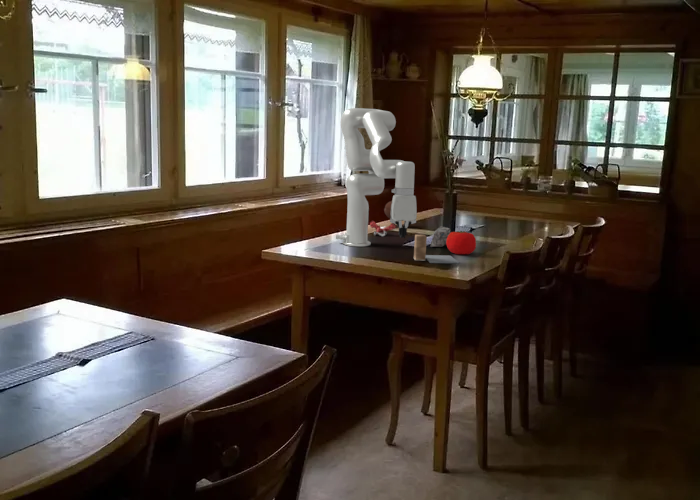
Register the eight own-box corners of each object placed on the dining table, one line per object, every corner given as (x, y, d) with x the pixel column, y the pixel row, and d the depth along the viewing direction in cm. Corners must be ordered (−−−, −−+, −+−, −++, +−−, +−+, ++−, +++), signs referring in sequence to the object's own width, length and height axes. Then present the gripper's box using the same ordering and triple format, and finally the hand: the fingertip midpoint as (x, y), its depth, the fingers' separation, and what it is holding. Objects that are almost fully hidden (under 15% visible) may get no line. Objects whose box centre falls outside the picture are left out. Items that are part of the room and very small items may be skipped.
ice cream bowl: (407, 227, 384) (409, 198, 381) (397, 229, 375) (398, 200, 372) (389, 225, 389) (391, 196, 386) (379, 227, 380) (380, 198, 377)
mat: (430, 263, 297) (430, 262, 297) (422, 255, 311) (422, 255, 311) (459, 263, 299) (459, 262, 299) (450, 256, 312) (450, 255, 312)
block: (415, 260, 301) (417, 236, 299) (413, 258, 305) (415, 234, 303) (425, 260, 302) (426, 236, 300) (423, 258, 306) (424, 234, 304)
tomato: (475, 257, 313) (476, 233, 311) (445, 255, 315) (446, 231, 313) (475, 252, 323) (477, 229, 321) (446, 250, 325) (447, 227, 323)
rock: (437, 248, 326) (441, 226, 326) (421, 245, 331) (425, 223, 330) (453, 250, 340) (456, 228, 339) (437, 247, 344) (440, 225, 343)
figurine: (360, 234, 356) (361, 221, 355) (372, 232, 366) (373, 218, 365) (388, 238, 348) (388, 224, 347) (399, 235, 358) (400, 222, 357)
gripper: (387, 192, 293) (385, 238, 296) (424, 193, 294) (422, 238, 298) (384, 191, 300) (382, 235, 303) (420, 191, 302) (418, 236, 305)
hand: (402, 237), depth 300 cm, fingers closed
